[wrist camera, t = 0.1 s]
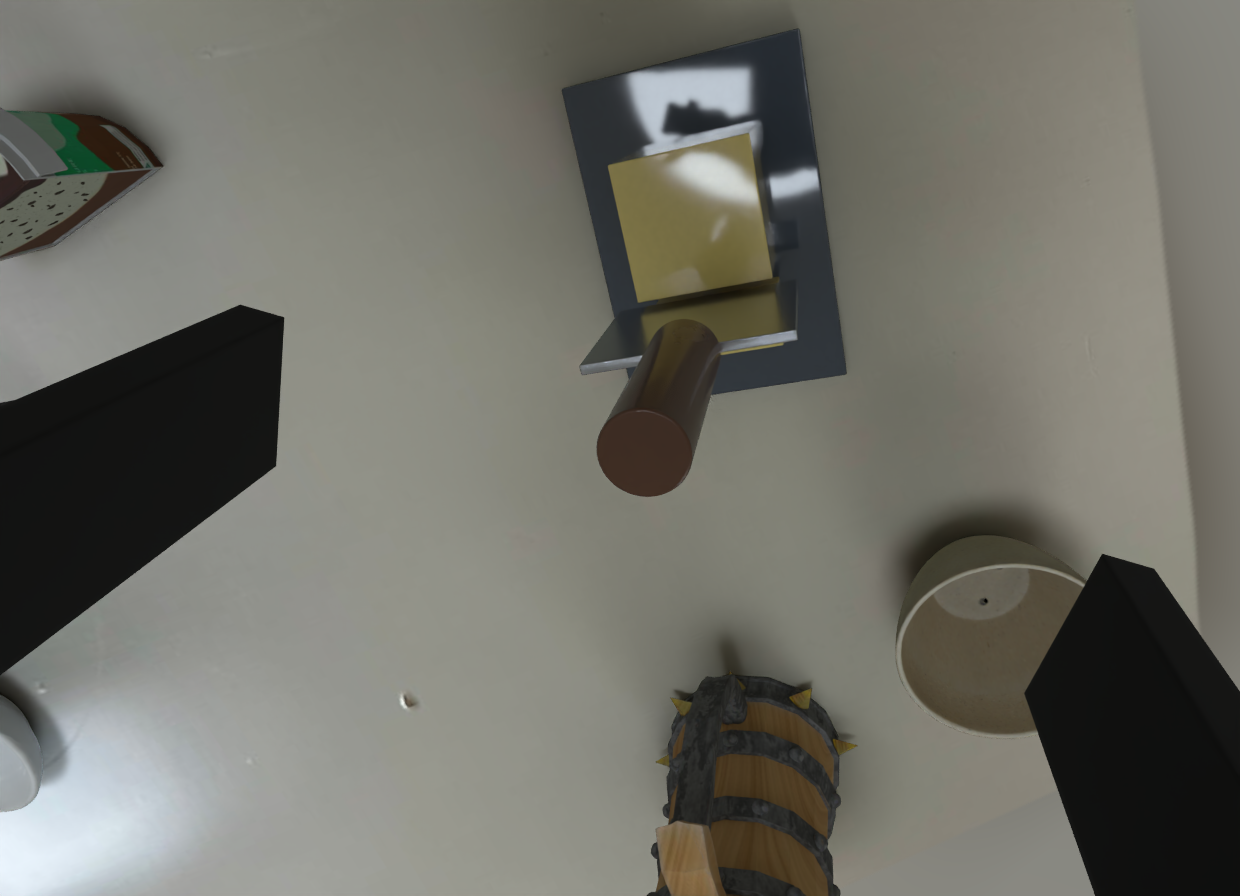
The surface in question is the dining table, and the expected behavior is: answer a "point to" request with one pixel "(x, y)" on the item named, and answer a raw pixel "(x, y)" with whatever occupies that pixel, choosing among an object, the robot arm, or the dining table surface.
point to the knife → (677, 376)
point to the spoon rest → (17, 759)
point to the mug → (749, 793)
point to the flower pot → (982, 632)
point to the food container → (62, 175)
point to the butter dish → (787, 168)
